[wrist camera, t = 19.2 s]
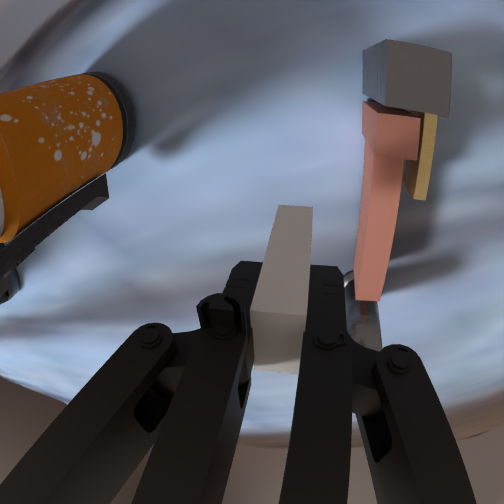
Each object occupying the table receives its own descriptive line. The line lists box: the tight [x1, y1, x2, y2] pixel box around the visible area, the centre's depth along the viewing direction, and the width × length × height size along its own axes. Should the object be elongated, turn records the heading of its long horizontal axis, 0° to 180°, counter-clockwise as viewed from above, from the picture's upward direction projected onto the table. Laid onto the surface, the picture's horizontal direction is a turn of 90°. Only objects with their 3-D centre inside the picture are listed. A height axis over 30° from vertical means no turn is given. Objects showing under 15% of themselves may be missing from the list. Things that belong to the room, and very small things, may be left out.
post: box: [343, 270, 382, 352], centre depth 23 cm, size 4×4×8 cm
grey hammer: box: [363, 39, 452, 201], centre depth 14 cm, size 4×8×8 cm, turn 2°
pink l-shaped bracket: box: [353, 101, 420, 301], centre depth 18 cm, size 2×13×6 cm, turn 4°
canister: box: [0, 72, 135, 279], centre depth 15 cm, size 9×11×20 cm
